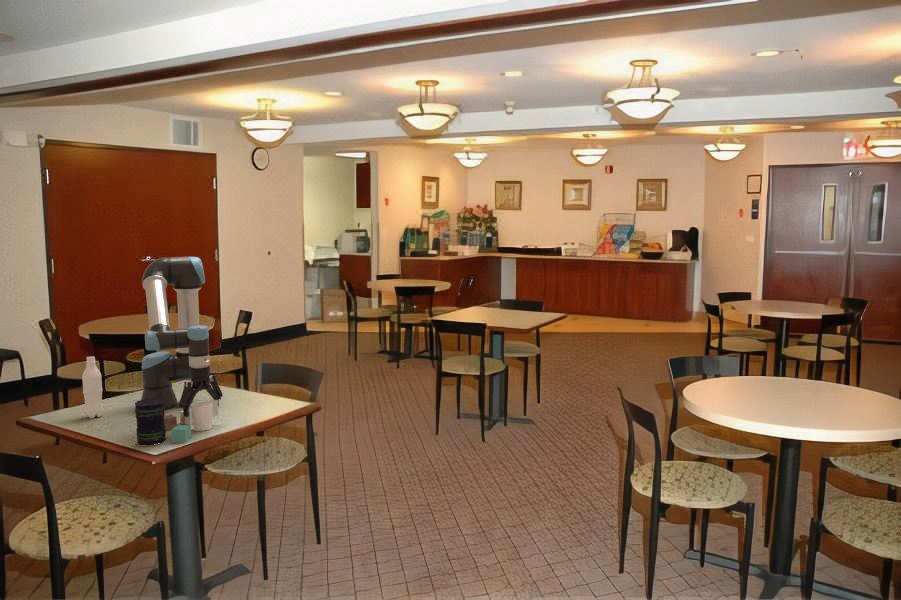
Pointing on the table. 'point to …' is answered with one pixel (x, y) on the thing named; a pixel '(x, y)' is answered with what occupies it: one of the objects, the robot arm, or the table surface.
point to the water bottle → (92, 389)
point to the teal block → (181, 433)
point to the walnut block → (170, 422)
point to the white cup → (201, 415)
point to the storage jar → (150, 421)
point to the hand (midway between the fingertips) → (202, 420)
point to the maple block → (182, 418)
